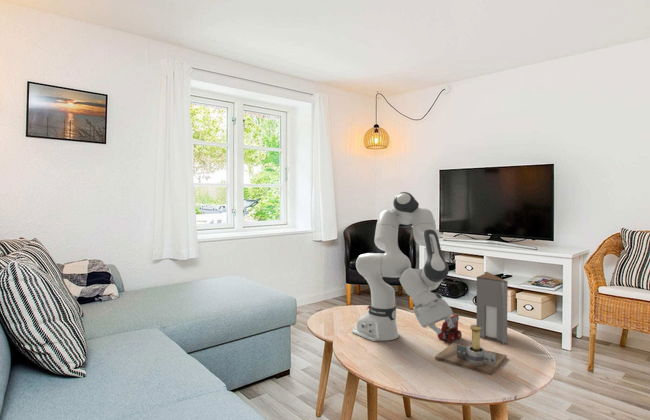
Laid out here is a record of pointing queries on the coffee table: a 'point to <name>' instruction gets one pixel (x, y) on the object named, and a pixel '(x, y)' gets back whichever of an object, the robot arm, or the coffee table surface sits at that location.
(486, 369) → the walnut board
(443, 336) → the toy fire truck
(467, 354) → the hinge
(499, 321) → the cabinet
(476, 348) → the hinge pin
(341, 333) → the coffee table surface
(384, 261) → the robot arm
